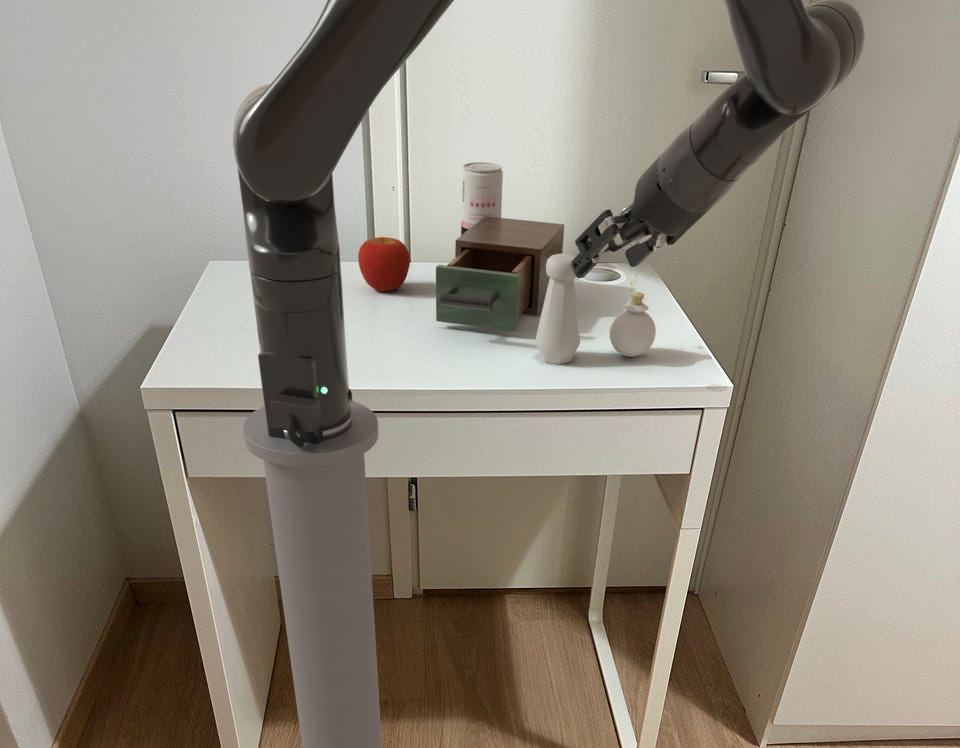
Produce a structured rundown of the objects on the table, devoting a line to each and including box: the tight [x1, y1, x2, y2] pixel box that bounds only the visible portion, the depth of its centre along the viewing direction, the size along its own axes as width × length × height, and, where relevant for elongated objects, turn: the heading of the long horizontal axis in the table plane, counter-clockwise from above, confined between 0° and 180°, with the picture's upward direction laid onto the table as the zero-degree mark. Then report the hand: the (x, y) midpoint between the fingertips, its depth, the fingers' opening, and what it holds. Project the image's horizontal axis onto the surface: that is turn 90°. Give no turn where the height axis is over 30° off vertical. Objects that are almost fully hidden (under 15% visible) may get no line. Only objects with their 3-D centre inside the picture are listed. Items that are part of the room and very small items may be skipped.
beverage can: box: [460, 161, 504, 236], centre depth 149 cm, size 7×7×15 cm
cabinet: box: [454, 216, 565, 316], centre depth 138 cm, size 15×13×9 cm
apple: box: [357, 236, 411, 293], centre depth 140 cm, size 8×8×8 cm
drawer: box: [435, 248, 535, 332], centre depth 128 cm, size 19×12×7 cm, turn 163°
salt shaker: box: [535, 253, 581, 365], centre depth 117 cm, size 6×6×13 cm
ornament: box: [609, 274, 657, 358], centre depth 120 cm, size 6×7×10 cm
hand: (603, 265), depth 108 cm, fingers open, 8 cm apart
